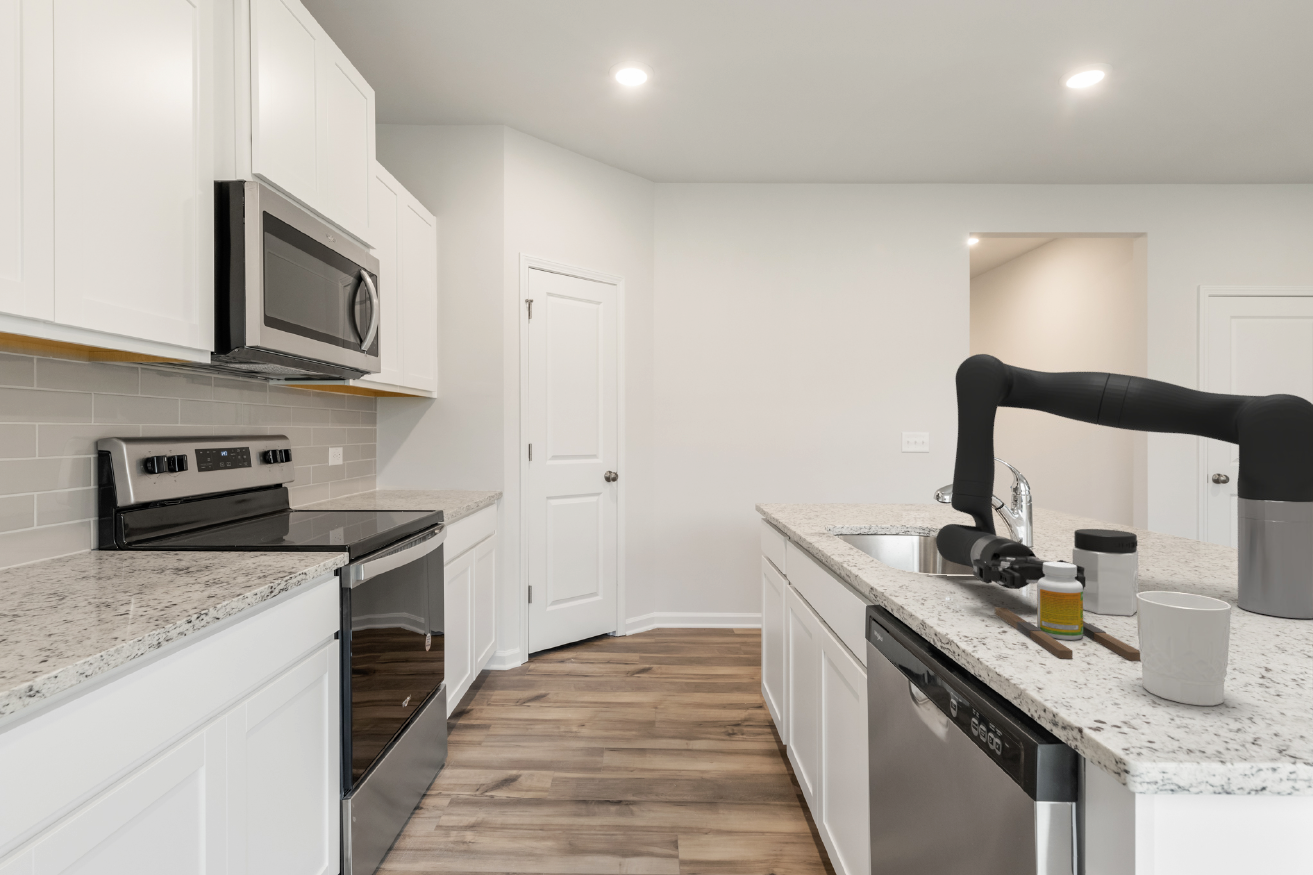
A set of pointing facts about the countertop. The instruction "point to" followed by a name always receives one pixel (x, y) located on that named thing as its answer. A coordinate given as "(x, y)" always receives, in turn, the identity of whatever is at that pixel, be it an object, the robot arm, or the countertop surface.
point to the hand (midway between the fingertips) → (1049, 582)
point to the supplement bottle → (1060, 602)
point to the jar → (1108, 570)
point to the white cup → (1183, 646)
